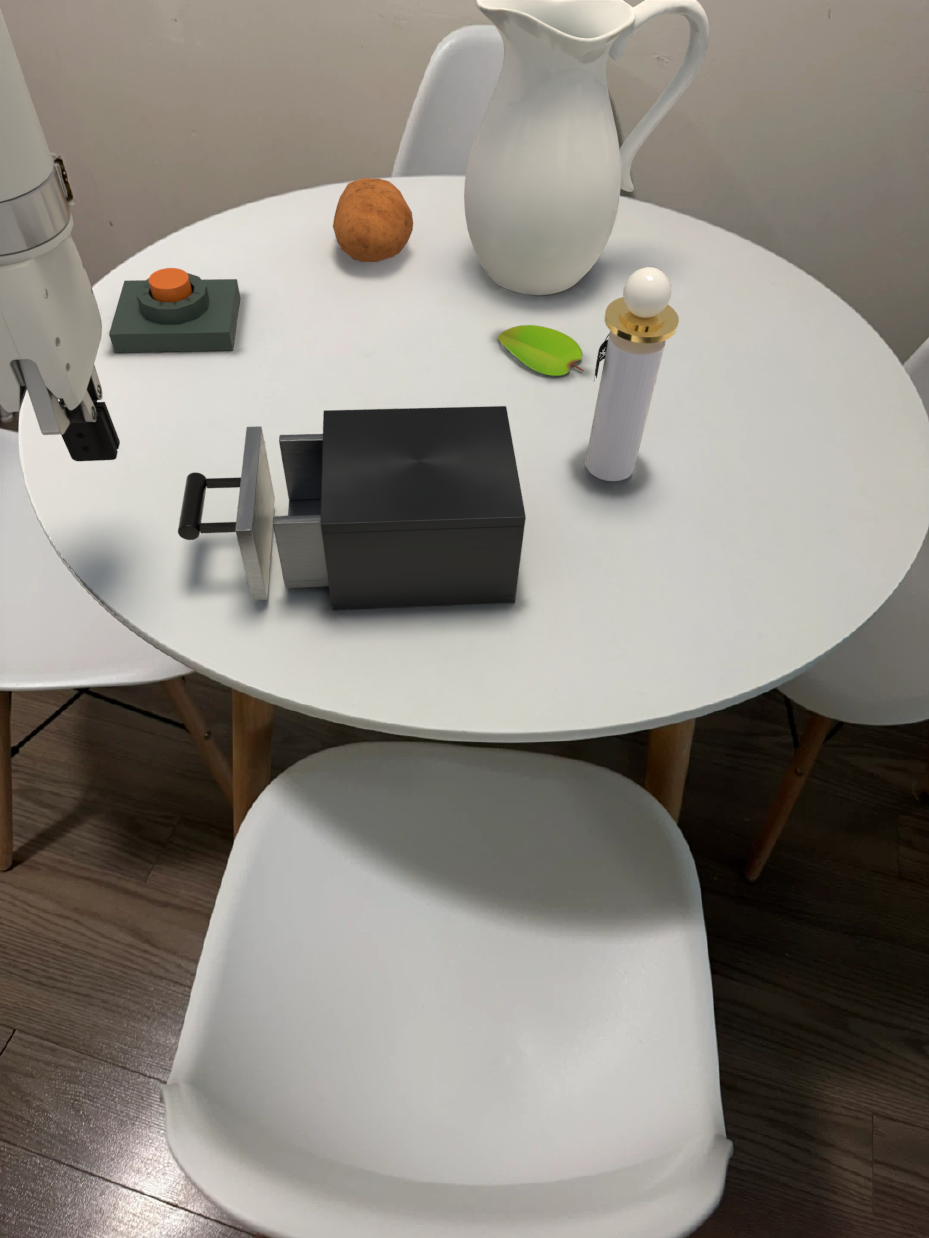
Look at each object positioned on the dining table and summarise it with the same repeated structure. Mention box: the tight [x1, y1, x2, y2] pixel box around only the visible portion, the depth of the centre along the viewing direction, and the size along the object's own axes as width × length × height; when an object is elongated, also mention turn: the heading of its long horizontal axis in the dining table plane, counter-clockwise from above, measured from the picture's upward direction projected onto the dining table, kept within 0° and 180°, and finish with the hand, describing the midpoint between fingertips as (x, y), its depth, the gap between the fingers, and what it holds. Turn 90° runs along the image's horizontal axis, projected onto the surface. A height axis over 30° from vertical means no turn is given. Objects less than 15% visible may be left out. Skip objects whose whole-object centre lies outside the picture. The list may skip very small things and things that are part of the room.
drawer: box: [177, 425, 329, 601], centre depth 70 cm, size 19×12×8 cm, turn 95°
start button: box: [148, 267, 192, 302], centre depth 90 cm, size 4×4×2 cm
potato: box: [332, 177, 414, 263], centre depth 101 cm, size 9×11×8 cm
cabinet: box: [321, 405, 527, 611], centre depth 71 cm, size 15×13×10 cm
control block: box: [108, 272, 241, 354], centre depth 92 cm, size 12×10×4 cm
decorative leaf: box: [497, 324, 585, 377], centre depth 92 cm, size 8×9×1 cm
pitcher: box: [463, 0, 710, 296], centre depth 92 cm, size 24×17×28 cm
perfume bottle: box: [584, 266, 680, 482], centre depth 74 cm, size 6×6×20 cm
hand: (97, 453), depth 64 cm, fingers closed
